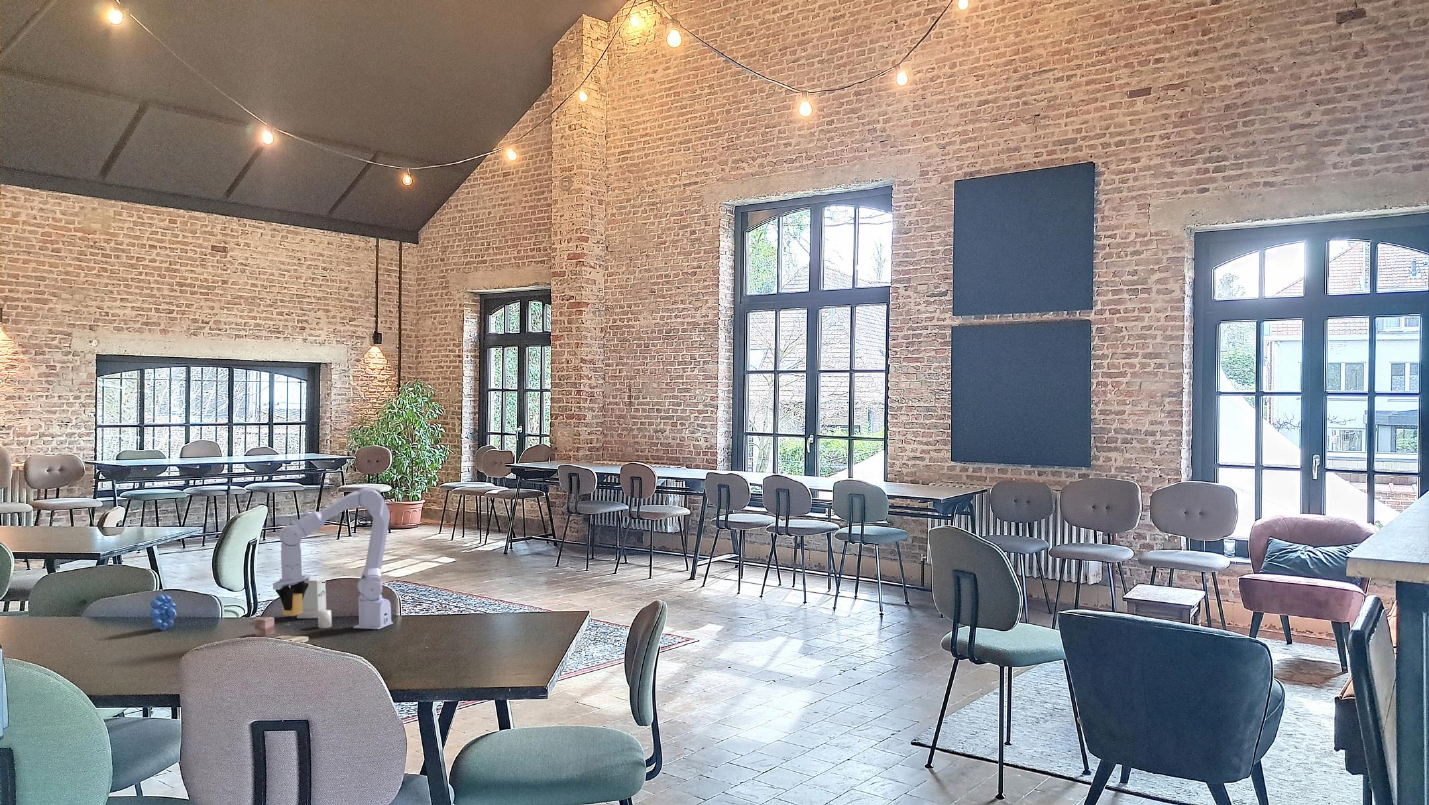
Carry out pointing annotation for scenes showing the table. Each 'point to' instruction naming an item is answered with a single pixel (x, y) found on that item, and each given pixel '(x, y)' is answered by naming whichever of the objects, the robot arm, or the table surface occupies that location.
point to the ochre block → (295, 605)
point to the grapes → (163, 611)
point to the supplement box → (314, 598)
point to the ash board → (294, 638)
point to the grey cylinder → (324, 619)
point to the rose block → (264, 626)
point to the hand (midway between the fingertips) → (292, 608)
